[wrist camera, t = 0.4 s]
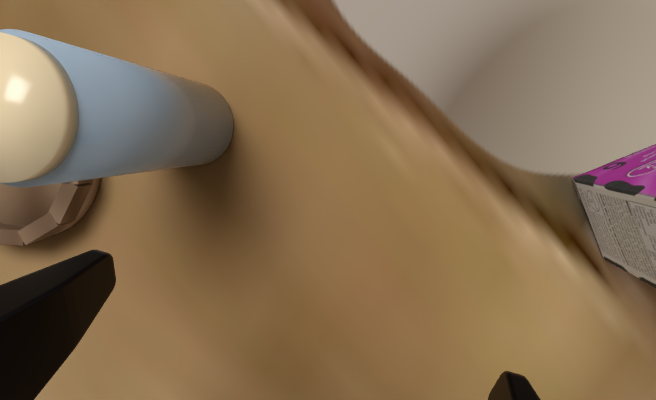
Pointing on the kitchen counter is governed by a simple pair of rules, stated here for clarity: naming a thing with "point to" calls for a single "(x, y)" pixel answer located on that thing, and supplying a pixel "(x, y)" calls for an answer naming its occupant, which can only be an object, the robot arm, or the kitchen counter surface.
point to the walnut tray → (43, 209)
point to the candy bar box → (624, 211)
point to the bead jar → (98, 115)
